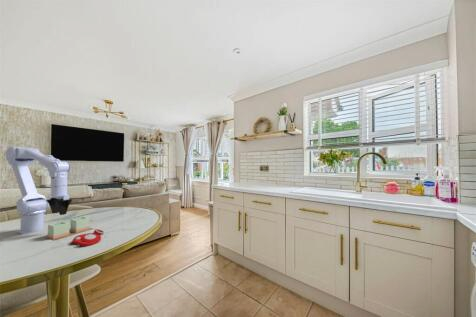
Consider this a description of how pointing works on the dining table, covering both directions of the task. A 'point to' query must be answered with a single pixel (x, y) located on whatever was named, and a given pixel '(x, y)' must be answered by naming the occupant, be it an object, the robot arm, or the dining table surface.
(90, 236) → the tracker holder
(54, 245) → the dining table surface
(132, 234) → the dining table surface
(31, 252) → the dining table surface
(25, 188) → the robot arm
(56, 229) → the sleeve
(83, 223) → the seated sleeve
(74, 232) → the pin board
